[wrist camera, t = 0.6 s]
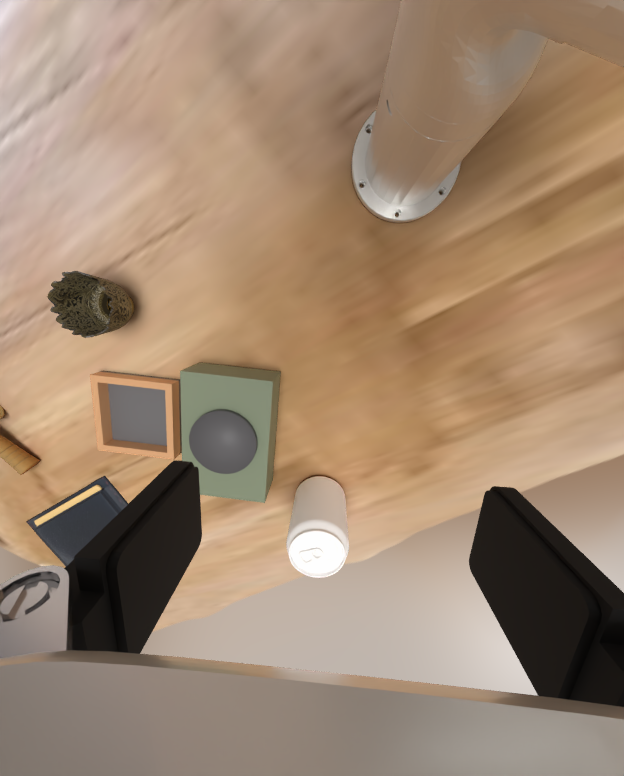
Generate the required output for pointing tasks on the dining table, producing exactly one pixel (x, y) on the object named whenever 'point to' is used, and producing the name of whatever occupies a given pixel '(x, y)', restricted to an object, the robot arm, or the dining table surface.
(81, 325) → the dark bronze domed piece
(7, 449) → the kendama
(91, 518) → the wallet
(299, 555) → the beverage can
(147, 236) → the dining table surface
